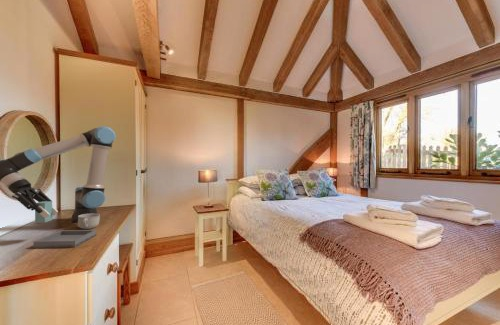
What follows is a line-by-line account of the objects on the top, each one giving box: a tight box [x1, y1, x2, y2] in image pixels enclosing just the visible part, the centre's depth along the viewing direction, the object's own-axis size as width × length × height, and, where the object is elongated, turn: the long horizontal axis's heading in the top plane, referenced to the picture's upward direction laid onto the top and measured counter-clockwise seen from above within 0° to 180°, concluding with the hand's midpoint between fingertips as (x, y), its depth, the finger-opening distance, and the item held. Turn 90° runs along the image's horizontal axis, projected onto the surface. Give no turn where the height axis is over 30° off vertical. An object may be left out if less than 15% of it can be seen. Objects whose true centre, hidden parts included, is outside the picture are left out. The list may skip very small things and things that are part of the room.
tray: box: [33, 229, 97, 249], centre depth 105 cm, size 16×18×3 cm
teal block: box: [34, 200, 53, 224], centre depth 108 cm, size 4×4×10 cm
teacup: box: [77, 213, 101, 230], centre depth 125 cm, size 14×11×8 cm
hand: (51, 214), depth 108 cm, fingers closed on teal block, 4 cm apart
